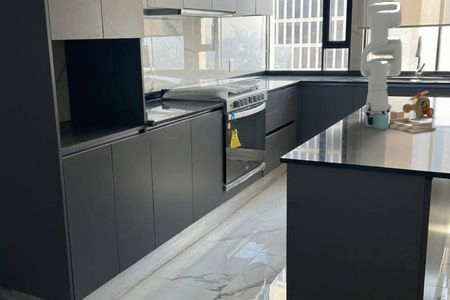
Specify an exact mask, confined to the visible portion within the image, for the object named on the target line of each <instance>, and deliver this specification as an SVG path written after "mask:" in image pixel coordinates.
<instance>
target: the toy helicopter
mask: <svg viewBox="0 0 450 300" xmlns="http://www.w3.org/2000/svg"><path fill="white" fill-rule="evenodd" d="M426 94H429V90H424V91H422V92H418V93H416V95H415V96H413V97H411V98H409V101H410V102H412V101H414V100H416V101H415V102H414V103H412V104H410V103H405V104H404V105H402V111H404V114H409V113H411V111H414V113H415V117H416V118H420V117H422V116H425V115H426V117H433V116H434V113H435V110H434V108H433V107H430V106H431V100H430V98H429V97H427V96H424V95H426Z"/></svg>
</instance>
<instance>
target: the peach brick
mask: <svg viewBox="0 0 450 300" xmlns="http://www.w3.org/2000/svg"><path fill="white" fill-rule="evenodd" d="M389 113H390V114H389V117H390V119H398V118H405V112H404V111H403V110H400V109H399V110H390V112H389ZM390 119H389V120H390Z"/></svg>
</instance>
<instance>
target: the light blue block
mask: <svg viewBox="0 0 450 300" xmlns="http://www.w3.org/2000/svg"><path fill="white" fill-rule="evenodd" d="M372 117H373V125H368V122H367V121H368V117H367V116H366V117H365V126H366V127H367V126H368V127H371V128H376V129H379V130H384V129H385V128H387V129H389V128H388V124H390V119H389V117H390V114H388V115H385V114H380V113H373V115H372Z"/></svg>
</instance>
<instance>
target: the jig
mask: <svg viewBox="0 0 450 300" xmlns="http://www.w3.org/2000/svg"><path fill="white" fill-rule="evenodd" d="M388 127H389V128H388V129H393V130H397V131H402V132H406V133H412V134H414V133H416V134H417V133H422V132H431V131H436V130H437V127H436V126H433V121H426V122H422V121H417V120H412V119H410V118H409V117H404V118H398V119H389V123H388ZM430 130H431V131H430Z"/></svg>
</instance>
